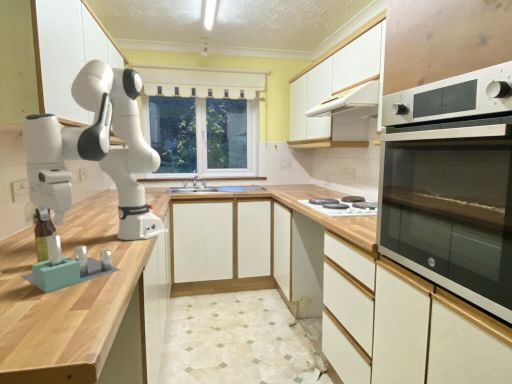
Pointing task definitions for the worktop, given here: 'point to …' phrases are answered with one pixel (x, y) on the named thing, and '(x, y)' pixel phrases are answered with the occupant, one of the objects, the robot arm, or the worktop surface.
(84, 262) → the medium pin
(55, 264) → the long pin
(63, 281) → the block
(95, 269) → the mat
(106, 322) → the worktop surface
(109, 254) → the short pin
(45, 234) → the sauce bottle
